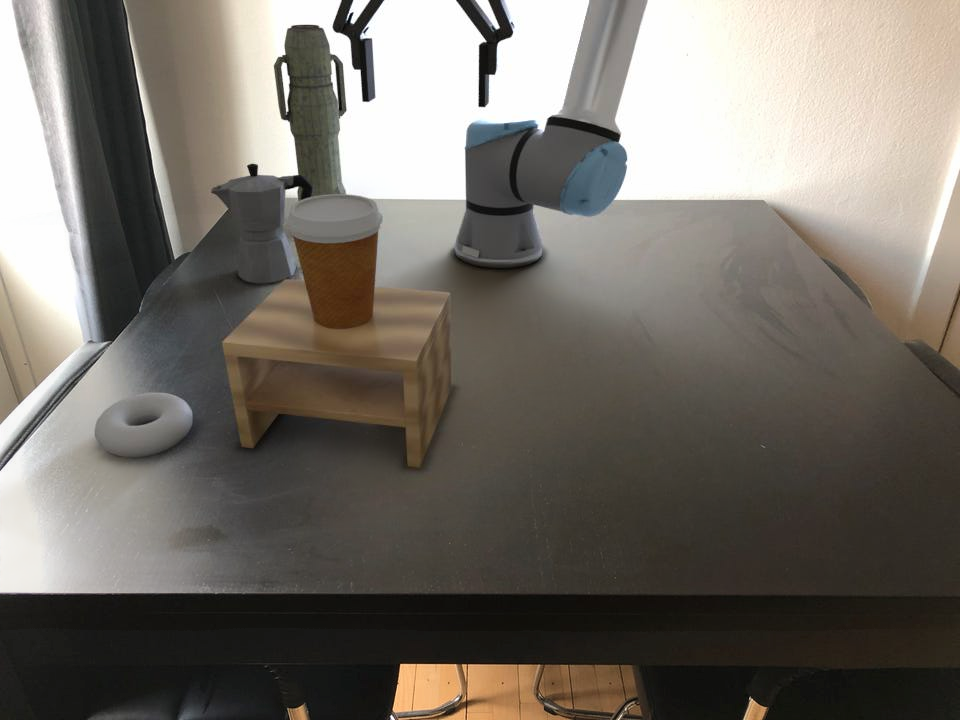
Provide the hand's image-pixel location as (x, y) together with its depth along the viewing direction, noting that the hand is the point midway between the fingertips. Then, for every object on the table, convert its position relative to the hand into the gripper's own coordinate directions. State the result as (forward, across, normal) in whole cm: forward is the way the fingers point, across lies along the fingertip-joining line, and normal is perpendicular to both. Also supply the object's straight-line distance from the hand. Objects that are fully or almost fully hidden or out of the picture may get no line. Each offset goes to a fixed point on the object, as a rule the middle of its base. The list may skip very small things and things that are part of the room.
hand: (425, 102), depth 86 cm
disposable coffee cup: (+19, -5, -19) cm, 27 cm away
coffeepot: (+32, -31, +19) cm, 48 cm away
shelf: (+32, -5, -19) cm, 37 cm away
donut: (+32, -26, -27) cm, 49 cm away
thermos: (+32, -31, +43) cm, 62 cm away
